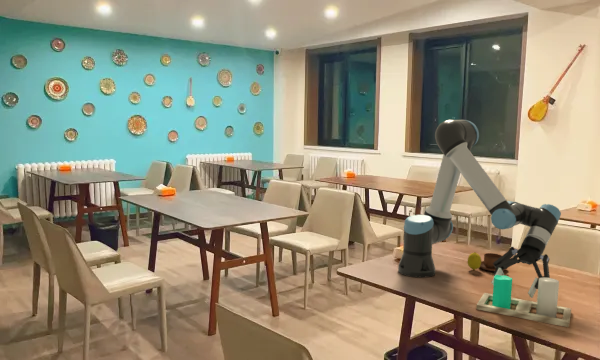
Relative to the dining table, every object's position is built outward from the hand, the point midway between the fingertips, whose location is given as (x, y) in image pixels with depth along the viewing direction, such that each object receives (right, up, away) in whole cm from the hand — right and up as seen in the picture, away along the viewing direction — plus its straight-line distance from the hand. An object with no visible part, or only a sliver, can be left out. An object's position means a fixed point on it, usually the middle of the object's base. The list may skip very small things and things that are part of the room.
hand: (511, 290), depth 177 cm
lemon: (0, 0, +38) cm, 38 cm away
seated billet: (+8, -6, -10) cm, 14 cm away
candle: (-4, -5, -2) cm, 7 cm away
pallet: (+2, -6, -6) cm, 9 cm away
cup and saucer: (+9, 0, +41) cm, 42 cm away
